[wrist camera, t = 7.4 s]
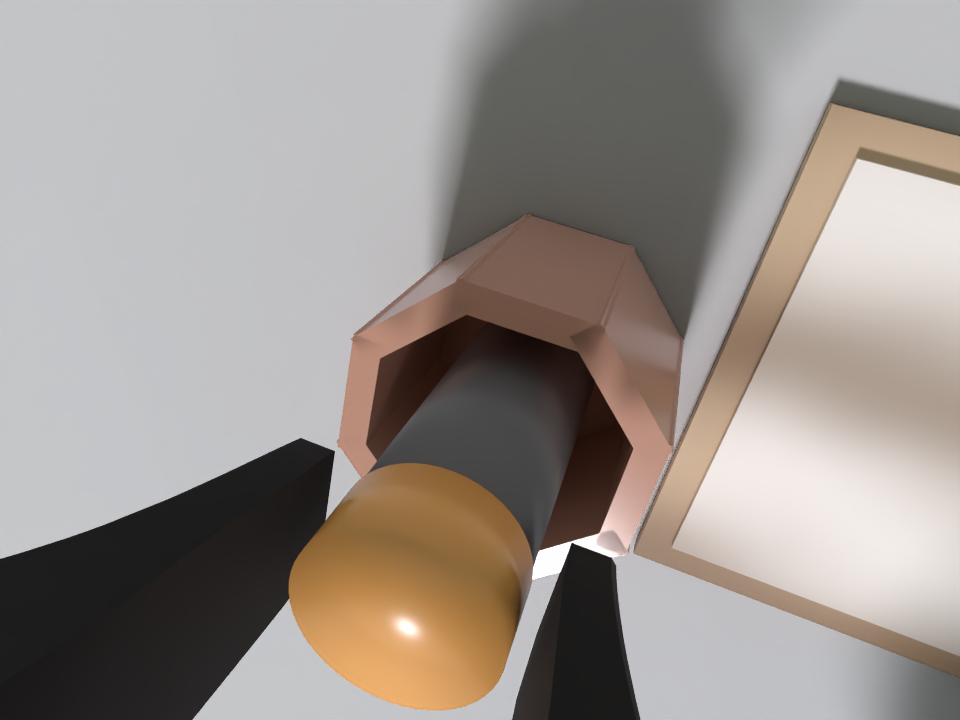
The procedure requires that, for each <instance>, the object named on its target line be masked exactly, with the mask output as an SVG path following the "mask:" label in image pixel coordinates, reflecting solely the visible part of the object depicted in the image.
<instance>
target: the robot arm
mask: <svg viewBox="0 0 960 720" xmlns="http://www.w3.org/2000/svg"><path fill="white" fill-rule="evenodd" d="M334 454H335V451H333V450H330V449H328V448H325V447H323V446H320V445H317V444H315V443H312V442H310V441H307V440H304V439H302V438H300V439H298V440H295V441H293V442H291V443H289V444H287V445H284V446H282V447H280V448H278V449H276V450H274V451H271V452H269V453H267V454H265V455H263V456H261V457H259V458H257V459H255V460H253V461H250V462H248V463H246V464H244V465H242V466H240V467H238V468H236V469H234V470H231V471H229V472H227V473H225V474H223V475H221V476H219V477H216V478H214V479H212V480H210V481H208V482H205V483H203V484H201V485H199V486H197V487H194V488H192V489H190V490H188V491H185V492H183V493H181V494H179V495H177V496H174V497H172V498H170V499H167V500H165V501H162V502H160V503H158V504H155V505H153V506H150V507H148V508H145V509H143V510H140V511H138V512H135V513H133V514H130V515H128V516H125V517H123V518H120V519H118V520H116V521H113V522H111V523H108V524H105V525H103V526H100V527H97V528H95V529H92V530H89V531H86V532H83V533H80V534H78V535H75V536H72V537H69V538H66V539H63V540H60V541H57V542H54V543H51V544H47V545H44V546H41V547H38V548H35V549H32V550H29V551H26V552H23V553H19V554H16V555H12V556H9V557H6V558H2V559H0V720H192V719H193V718H194V717H195V716H196V714H197V713H198V712H199V711H200V710H201V708H202V707H203V706H204V705H205V703H206V702H207V701H208V700H209V698H210V697H211V696H212V695H213V693H214V692H215V691H216V690H217V688H218V687H219V686H220V685H221V683H222V682H223V681H224V680H225V679H226V677H227V676H228V675H229V674H230V672H231V671H232V670H233V669H234V667H235V666H236V665H237V664H238V662H239V661H240V660H241V659H242V657H243V656H244V655H245V654H246V652H247V651H248V650H249V649H250V648H251V646H252V645H253V644H254V643H255V641H256V640H257V639H258V638H259V636H260V635H261V634H262V633H263V631H264V630H265V629H266V627H267V626H268V625H269V624H270V622H271V621H272V620H273V619H274V617H275V616H276V615H277V614H278V612H279V611H280V610H281V609H282V607H283V606H284V605H285V603H286V602H287V601H288V599H289V578H290V573H291V569H292V567H293V564H294V562H295V560H296V559H297V557H298V556H299V554H300V553H301V551H302V550H303V549H304V548H305V546H306V545H307V544H308V542H309V541H310V540H311V539H312V537H313V536H314V535H315V534H316V532H317V531H318V530H319V529H320V527H321V526H322V525H323V524H324V522H325V519H326V512H327V505H328V497H329V490H330V483H331V476H332V468H333V461H334ZM512 720H640V716H639V712H638V707H637V703H636V699H635V694H634V689H633V684H632V680H631V675H630V670H629V665H628V661H627V655H626V650H625V644H624V638H623V632H622V625H621V618H620V611H619V603H618V593H617V580H616V565H615V563H614V561H613V560H612V558H611V557H608V556H606V555H603V554H601V553H598V552H595V551H593V550H590V549H588V548H585V547H582V546H580V545H577V544H575V543H571V545H570V548H569V551H568V553H567V556H566V558H565V561H564V564H563V566H562V569H561V572H560V574H559V577H558V580H557V582H556V585H555V587H554V590H553V593H552V595H551V598H550V601H549V603H548V606H547V609H546V611H545V614H544V616H543V619H542V622H541V624H540V627H539V630H538V632H537V635H536V638H535V641H534V645H533V648H532V651H531V654H530V657H529V661H528V664H527V667H526V670H525V674H524V677H523V680H522V683H521V686H520V690H519V693H518V696H517V700H516V705H515V709H514V714H513V719H512Z"/></svg>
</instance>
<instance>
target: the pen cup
mask: <svg viewBox="0 0 960 720" xmlns="http://www.w3.org/2000/svg"><path fill="white" fill-rule="evenodd" d="M635 248H636V247H633V246H632V244H631V245H626V244H623V243H619V242H616V241H613V240H610V239H606V238H603V237H600V236H597V235H593V234H590V233H587V232H583V231H580V230H577V229H574V228H570V227H567V226H564V225H560V224H557V223H554V222H551V221H547V220H544V219H541V218H537V217H534V216H531V214H524V215H523V216H522V217H521V218H520V219H519V220H517V221H515V222H514V223H512V224H510V225H508V226H507V227H505V228H503V229H501V230H499V231H498V232H496V233H494V234H492V235H491V236H489V237H487V238H485V239H483V240H482V241H480V242H478V243H476V244H475V245H473V246H471V247H469V248H467V249H466V250H464V251H462V252H460V253H459V254H457V255H455V256H453V257H451V258H450V259H448V260H446V261H445V260H443V261H441V262H440V263H439V264H438V265H437V266H435V267H434V268H433V269H432V270H431V271H429V272H428V273H427V274H426V275H425V276H423V277H422V278H421V279H420V280H419V281H417V282H416V283H415V284H414V285H412V286H411V287H410V288H409V289H408V290H406V291H405V292H404V293H403V294H402V295H400V296H399V297H398V298H397V299H396V300H394V301H393V302H392V303H391V304H390V305H388V306H387V307H386V308H385V309H384V310H382V311H381V312H380V313H379V314H377V315H376V316H375V317H374V318H373V319H371V320H370V321H369V322H368V323H367V324H365V325H364V326H363V327H362V328H361V329H359V330H358V331H357V332H356V333H355V334H354V336H353V337H352V338H351V340H352V341H353V343H352V350H351V357H350V364H349V371H348V378H347V385H346V393H345V400H344V407H343V414H342V421H341V428H340V435H339V439H338V441H337V443H338V447H340V448H341V449H342V450H343V452H344V453H345V455H346V456H347V458H348V459H349V460H350V462H351V463H352V465H353V466H354V468H355V469H356V471H357V472H358V473H359V475H360V476H361V478H363V477H364V476H365V475H367V473H368V472H369V471H370V469H371V468H372V467H373V466H374V464H375V463H376V462H377V460H378V459H379V458H380V457H381V455H382V454H383V453H384V452H385V450H386V449H387V448H388V446H389V445H390V444H391V443H392V441H393V440H394V439H395V438H396V436H397V435H398V434H399V432H400V431H401V430H402V429H403V427H404V426H405V425H406V423H407V422H408V421H409V420H410V418H411V417H412V416H413V415H414V413H415V412H416V411H417V409H418V408H419V407H420V406H421V404H422V403H423V402H424V401H425V399H426V398H427V397H428V395H429V394H430V393H431V392H432V390H433V389H434V388H435V386H436V385H437V384H438V383H439V381H440V380H441V379H442V378H443V376H444V375H445V374H446V372H447V371H448V370H449V369H450V367H451V366H452V365H453V364H454V362H455V361H456V360H457V358H458V357H459V356H460V355H461V353H462V352H463V351H464V349H465V348H466V347H467V346H468V344H469V343H470V342H471V341H472V339H473V338H474V337H475V335H476V334H477V333H478V332H479V330H480V329H481V328H482V327H483V326H484V325H485V324H486V323H487V322H490V323H493V324H496V325H499V326H502V327H505V328H508V329H511V330H514V331H517V332H520V333H523V334H526V335H529V336H532V337H535V338H538V339H541V340H544V341H547V342H550V343H553V344H556V345H559V346H562V347H565V348H568V349H571V350H574V351H577V352H579V354H580V356H581V358H582V359H583V361H584V363H585V365H586V366H587V368H588V370H589V372H590V373H591V375H592V377H593V379H594V380H595V383H594V387H593V391H592V394H591V397H590V400H589V403H588V406H587V409H586V412H585V415H584V418H583V421H582V424H581V427H580V430H579V433H578V436H577V439H576V442H575V445H574V448H573V451H572V454H571V457H570V460H569V463H568V466H567V469H566V472H565V475H564V478H563V481H562V484H561V487H560V490H559V493H558V496H557V499H556V502H555V505H554V508H553V511H552V514H551V517H550V520H549V523H548V526H547V529H546V532H545V535H544V538H543V541H542V544H541V547H540V550H539V553H538V556H537V559H536V562H535V565H534V568H533V579H535V578H539V577H543V576H546V575H550V574H554V573H557V572H561V569H562V566H563V564H564V561H565V558H566V556H567V553H568V551H569V548H570V545H571V543H575V544H577V545H580V546H582V547H585V548H588V549H590V550H593V551H595V552H598V553H601V554H603V555H606V556H608V557H611V558H613V557H616V556H620V555H622V556H625V554H627V553H629V548H630V543H631V540H632V538H633V536H634V533H635V531H636V529H637V527H638V524H639V522H640V520H641V517H642V515H643V513H644V511H645V508H646V506H647V504H648V501H649V499H650V497H651V495H652V492H653V490H654V488H655V485H656V483H657V481H658V478H659V476H660V474H661V472H662V469H663V467H664V465H665V462H666V460H667V458H668V456H669V453H672V452H673V447H674V436H675V426H676V415H677V405H678V394H679V384H680V373H681V363H682V353H683V337H681V336H680V335H679V333H678V331H677V329H676V327H675V325H674V323H673V321H672V319H671V318H670V316H669V314H668V312H667V310H666V308H665V306H664V304H663V303H662V301H661V299H660V297H659V295H658V293H657V291H656V289H655V287H654V286H653V284H652V282H651V280H650V278H649V276H648V274H647V272H646V270H645V269H644V267H643V265H642V263H641V261H640V259H639V257H638V255H637V253H636V252H635Z"/></svg>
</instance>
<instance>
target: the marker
mask: <svg viewBox="0 0 960 720" xmlns="http://www.w3.org/2000/svg"><path fill="white" fill-rule="evenodd" d="M594 383H595V380H594V379H593V377H592V375H591V373H590V372H589V370H588V368H587V366H586V365H585V363H584V361H583V359H582V358H581V356H580V354H579V352H577V351H574V350H571V349H568V348H565V347H562V346H559V345H556V344H553V343H550V342H547V341H544V340H541V339H538V338H535V337H532V336H529V335H526V334H523V333H520V332H517V331H514V330H511V329H508V328H505V327H502V326H499V325H496V324H493V323H490V322H487V323H486V324H485V325H484V326H483V327H482V328H481V329H480V330H479V332H478V333H477V334H476V335H475V337H474V338H473V339H472V341H471V342H470V343H469V344H468V346H467V347H466V348H465V349H464V351H463V352H462V353H461V355H460V356H459V357H458V358H457V360H456V361H455V362H454V364H453V365H452V366H451V367H450V369H449V370H448V371H447V372H446V374H445V375H444V376H443V378H442V379H441V380H440V381H439V383H438V384H437V385H436V386H435V388H434V389H433V390H432V392H431V393H430V394H429V395H428V397H427V398H426V399H425V401H424V402H423V403H422V404H421V406H420V407H419V408H418V409H417V411H416V412H415V413H414V415H413V416H412V417H411V418H410V420H409V421H408V422H407V423H406V425H405V426H404V427H403V429H402V430H401V431H400V432H399V434H398V435H397V436H396V438H395V439H394V440H393V441H392V443H391V444H390V445H389V446H388V448H387V449H386V450H385V452H384V453H383V454H382V455H381V457H380V458H379V459H378V460H377V462H376V463H375V464H374V466H373V467H372V468H371V469H370V471H369V472H368V473H367V475H365V476H364V477H363V478H361V479H360V480H359V481H358V482H357V483H356V484H355V485H354V486H353V487H352V488H351V490H350V491H349V492H348V493H347V495H346V496H345V497H344V498H343V500H342V501H341V502H340V503H339V505H338V506H337V507H336V508H335V510H334V511H333V512H332V513H331V515H330V516H329V517H328V519H327V520H326V521H325V522H324V524H323V525H322V526H321V527H320V529H319V530H318V531H317V532H316V534H315V535H314V536H313V537H312V539H311V540H310V541H309V542H308V544H307V545H306V546H305V548H304V549H303V550H302V551H301V553H300V554H299V556H298V557H297V559H296V560H295V562H294V564H293V567H292V569H291V573H290V578H289V598H290V604H291V608H292V611H293V615H294V617H295V619H296V622H297V624H298V626H299V628H300V630H301V632H302V633H303V635H304V637H305V638H306V640H307V641H308V643H309V644H310V645H311V647H312V648H313V649H314V650H315V652H316V653H317V654H318V655H319V656H320V657H321V658H322V659H323V660H324V661H325V662H326V663H327V664H328V665H329V666H330V667H331V668H332V669H333V670H334V671H336V672H337V673H338V674H339V675H340V676H342V677H343V678H345V679H346V680H347V681H349V682H350V683H352V684H353V685H355V686H357V687H358V688H360V689H362V690H363V691H365V692H367V693H369V694H371V695H373V696H375V697H378V698H380V699H383V700H385V701H388V702H390V703H394V704H397V705H400V706H404V707H409V708H414V709H421V710H450V709H456V708H460V707H464V706H467V705H469V704H472V703H474V702H476V701H478V700H479V699H481V698H483V697H484V696H486V695H487V694H488V693H489V692H490V691H491V690H492V689H493V688H494V687H495V685H496V684H497V683H498V681H499V679H500V677H501V675H502V673H503V671H504V668H505V665H506V661H507V658H508V655H509V652H510V649H511V646H512V643H513V640H514V637H515V634H516V631H517V628H518V625H519V622H520V619H521V615H522V612H523V609H524V606H525V603H526V600H527V597H528V594H529V591H530V587H531V584H532V580H533V568H534V565H535V562H536V559H537V556H538V553H539V550H540V547H541V544H542V541H543V538H544V535H545V532H546V529H547V526H548V523H549V520H550V517H551V514H552V511H553V508H554V505H555V502H556V499H557V496H558V493H559V490H560V487H561V484H562V481H563V478H564V475H565V472H566V469H567V466H568V463H569V460H570V457H571V454H572V451H573V448H574V445H575V442H576V439H577V436H578V433H579V430H580V427H581V424H582V421H583V418H584V415H585V412H586V409H587V406H588V403H589V400H590V397H591V394H592V391H593V387H594Z"/></svg>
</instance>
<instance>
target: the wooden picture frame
mask: <svg viewBox="0 0 960 720" xmlns="http://www.w3.org/2000/svg"><path fill="white" fill-rule="evenodd" d="M634 554H637V555H639V556H642V557H644V558H647V559H650V560H652V561H655V562H658V563H660V564H663V565H665V566H668V567H671V568H673V569H676V570H678V571H681V572H684V573H686V574H689V575H692V576H694V577H697V578H699V579H702V580H705V581H707V582H710V583H713V584H715V585H718V586H720V587H723V588H726V589H728V590H731V591H734V592H736V593H739V594H741V595H744V596H747V597H749V598H752V599H754V600H757V601H760V602H762V603H765V604H768V605H770V606H773V607H775V608H778V609H781V610H783V611H786V612H789V613H791V614H794V615H796V616H799V617H802V618H804V619H807V620H810V621H812V622H815V623H817V624H820V625H823V626H825V627H828V628H831V629H833V630H836V631H838V632H841V633H844V634H846V635H849V636H851V637H854V638H857V639H859V640H862V641H865V642H867V643H870V644H872V645H875V646H878V647H880V648H883V649H886V650H888V651H891V652H893V653H896V654H899V655H901V656H904V657H907V658H909V659H912V660H914V661H917V662H920V663H922V664H925V665H928V666H930V667H933V668H935V669H938V670H941V671H943V672H946V673H948V674H951V675H954V676H956V677H959V678H960V136H959V135H955V134H951V133H947V132H943V131H939V130H935V129H931V128H927V127H923V126H919V125H916V124H912V123H908V122H904V121H900V120H896V119H892V118H888V117H884V116H880V115H876V114H873V113H869V112H865V111H861V110H857V109H853V108H849V107H845V106H841V105H837V104H833V103H829V105H828V107H827V109H826V112H825V114H824V116H823V118H822V121H821V123H820V125H819V128H818V130H817V132H816V134H815V137H814V139H813V141H812V143H811V146H810V148H809V150H808V152H807V155H806V157H805V159H804V162H803V164H802V166H801V168H800V171H799V173H798V175H797V177H796V180H795V182H794V184H793V186H792V189H791V191H790V193H789V196H788V198H787V200H786V202H785V205H784V207H783V209H782V211H781V214H780V216H779V218H778V220H777V223H776V225H775V227H774V230H773V232H772V234H771V236H770V239H769V241H768V243H767V245H766V248H765V250H764V252H763V254H762V257H761V259H760V261H759V264H758V266H757V268H756V270H755V273H754V275H753V277H752V279H751V282H750V284H749V286H748V288H747V291H746V293H745V295H744V298H743V300H742V302H741V304H740V307H739V309H738V311H737V313H736V316H735V318H734V320H733V323H732V325H731V327H730V329H729V332H728V334H727V336H726V338H725V341H724V343H723V345H722V347H721V350H720V352H719V354H718V357H717V359H716V361H715V363H714V366H713V368H712V370H711V372H710V375H709V377H708V379H707V381H706V384H705V386H704V388H703V391H702V393H701V395H700V397H699V400H698V402H697V404H696V406H695V409H694V411H693V413H692V415H691V418H690V420H689V422H688V425H687V427H686V429H685V431H684V434H683V436H682V438H681V440H680V443H679V445H678V447H677V449H676V452H675V454H674V456H673V459H672V461H671V463H670V465H669V468H668V470H667V472H666V474H665V477H664V479H663V481H662V483H661V486H660V488H659V490H658V493H657V495H656V497H655V499H654V502H653V504H652V506H651V508H650V511H649V513H648V515H647V518H646V520H645V522H644V524H643V527H642V529H641V531H640V533H639V536H638V538H637V540H636V542H635V546H634Z"/></svg>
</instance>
